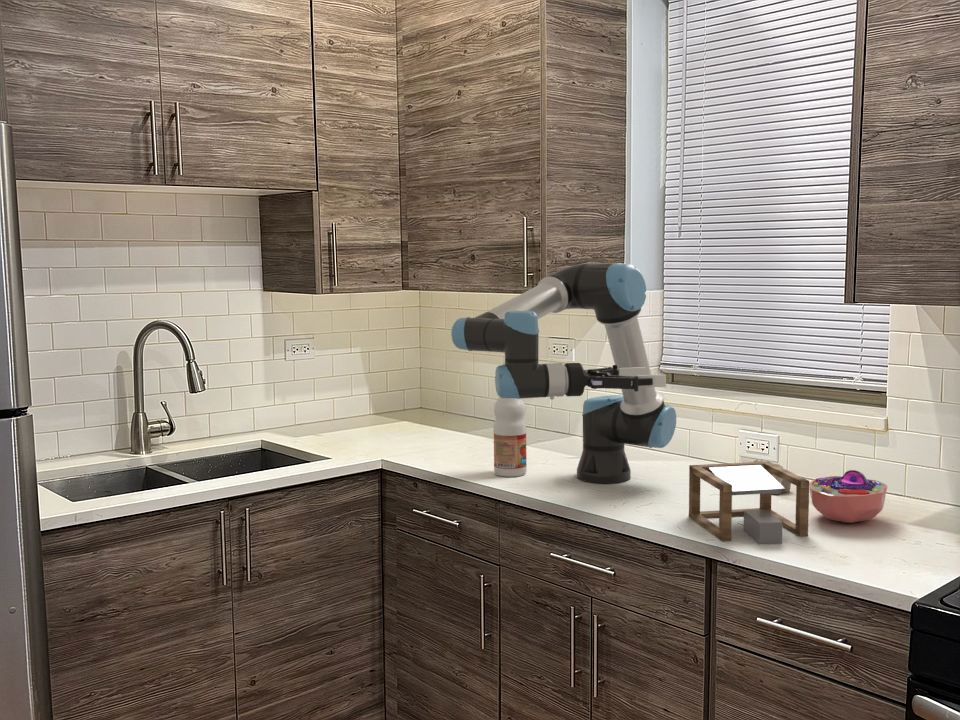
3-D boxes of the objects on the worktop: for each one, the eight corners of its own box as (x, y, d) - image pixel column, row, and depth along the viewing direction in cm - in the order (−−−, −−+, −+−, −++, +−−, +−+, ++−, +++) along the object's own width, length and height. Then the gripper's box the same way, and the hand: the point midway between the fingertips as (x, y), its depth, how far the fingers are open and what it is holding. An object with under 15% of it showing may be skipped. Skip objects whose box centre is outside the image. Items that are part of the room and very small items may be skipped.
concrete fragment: (767, 496, 242) (767, 470, 241) (739, 481, 257) (740, 457, 256) (795, 494, 243) (796, 468, 242) (766, 480, 259) (767, 455, 258)
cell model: (790, 519, 220) (791, 472, 219) (837, 505, 232) (839, 460, 231) (856, 536, 206) (858, 486, 205) (903, 519, 218) (905, 472, 217)
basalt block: (743, 510, 211) (759, 523, 201) (765, 509, 211) (782, 522, 201) (743, 531, 212) (759, 545, 202) (765, 531, 212) (781, 544, 202)
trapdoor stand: (688, 516, 224) (689, 465, 222) (767, 511, 227) (768, 461, 225) (722, 541, 204) (723, 485, 203) (808, 535, 207) (809, 480, 206)
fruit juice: (490, 471, 274) (489, 376, 270) (522, 469, 275) (521, 375, 272) (498, 478, 264) (497, 380, 261) (530, 476, 266) (529, 379, 263)
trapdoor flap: (704, 470, 221) (704, 466, 220) (761, 467, 223) (762, 463, 222) (727, 495, 208) (727, 491, 208) (787, 492, 210) (788, 488, 210)
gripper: (551, 388, 222) (637, 385, 225) (578, 405, 197) (674, 401, 201) (551, 357, 221) (637, 354, 224) (578, 370, 197) (674, 366, 200)
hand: (655, 376), depth 212 cm, fingers open, 13 cm apart
